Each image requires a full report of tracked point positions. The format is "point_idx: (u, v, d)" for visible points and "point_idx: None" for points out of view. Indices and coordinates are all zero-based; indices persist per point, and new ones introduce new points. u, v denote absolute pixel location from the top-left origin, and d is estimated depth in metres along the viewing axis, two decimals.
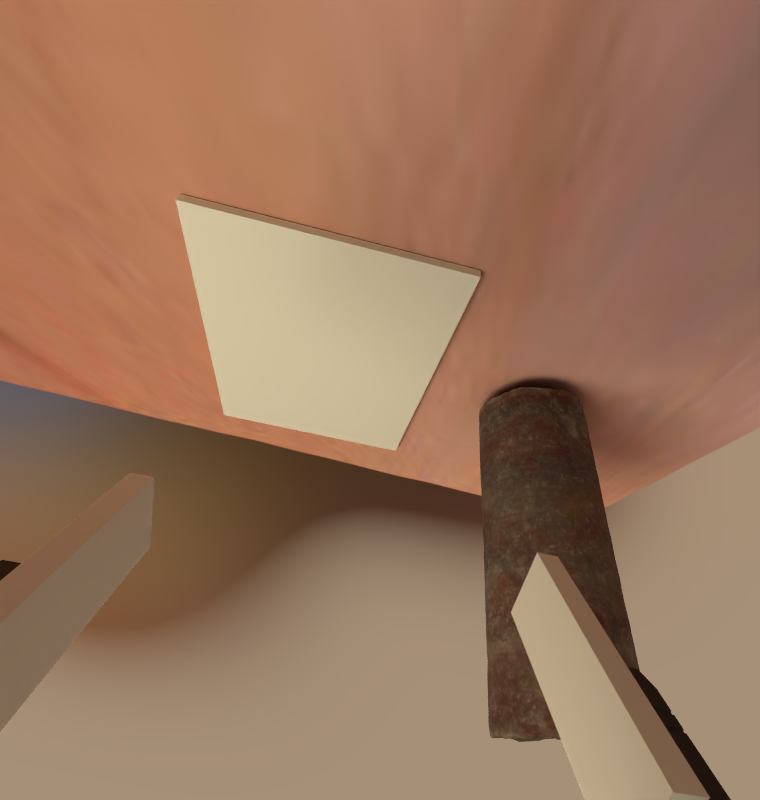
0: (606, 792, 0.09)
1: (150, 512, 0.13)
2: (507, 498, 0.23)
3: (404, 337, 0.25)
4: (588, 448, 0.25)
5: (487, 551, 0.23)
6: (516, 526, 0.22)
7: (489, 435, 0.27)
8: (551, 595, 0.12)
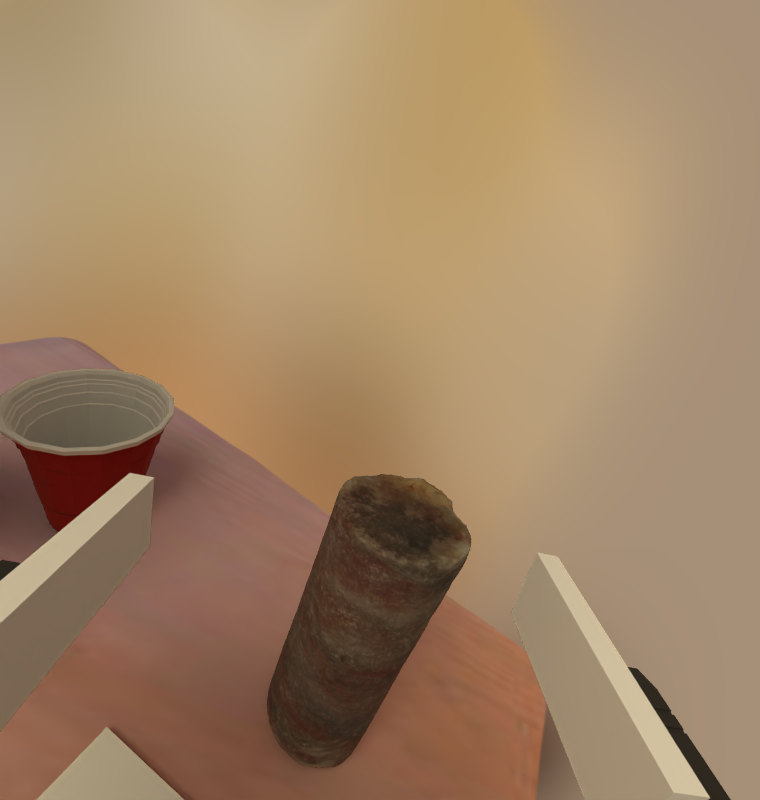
0: (606, 792, 0.09)
1: (150, 512, 0.13)
2: (297, 660, 0.22)
3: None
4: None
5: (336, 664, 0.20)
6: (301, 637, 0.22)
7: (289, 722, 0.24)
8: (551, 595, 0.12)
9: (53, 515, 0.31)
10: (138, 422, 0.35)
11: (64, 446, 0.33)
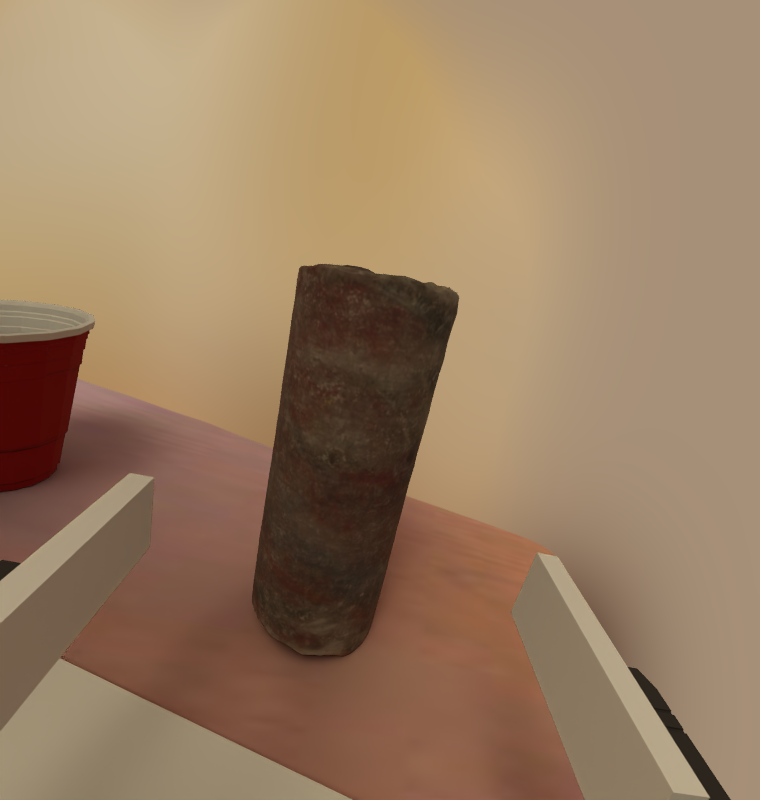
0: (606, 792, 0.09)
1: (150, 512, 0.13)
2: (279, 499, 0.18)
3: (81, 773, 0.14)
4: None
5: (326, 471, 0.17)
6: (280, 464, 0.18)
7: (281, 594, 0.19)
8: (551, 595, 0.12)
9: None
10: None
11: None
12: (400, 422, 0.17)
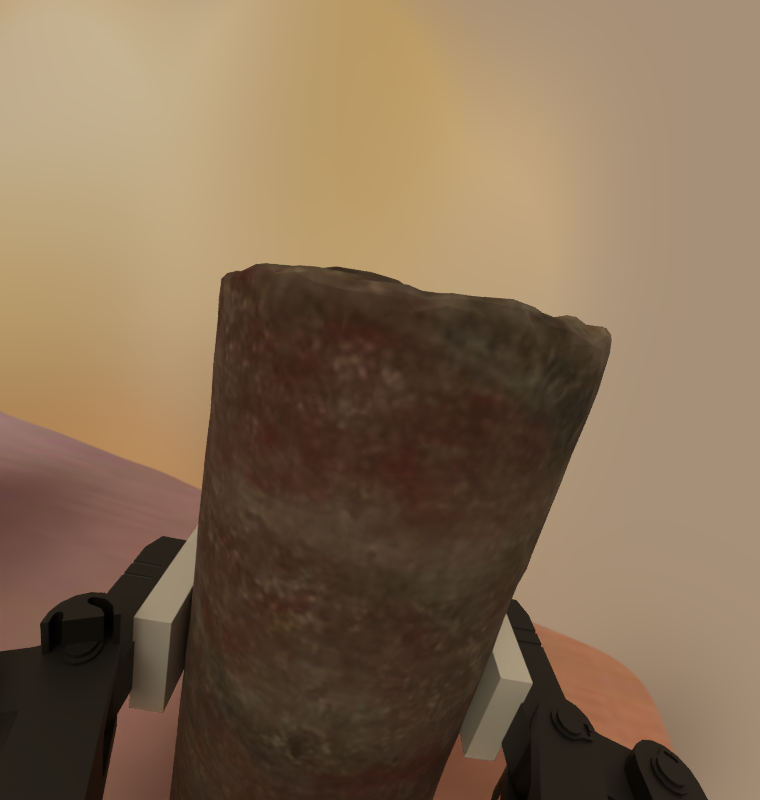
0: None
1: None
2: (188, 777, 0.08)
3: None
4: None
5: (283, 769, 0.07)
6: (189, 707, 0.08)
7: None
8: None
9: None
10: None
11: None
12: (466, 655, 0.07)
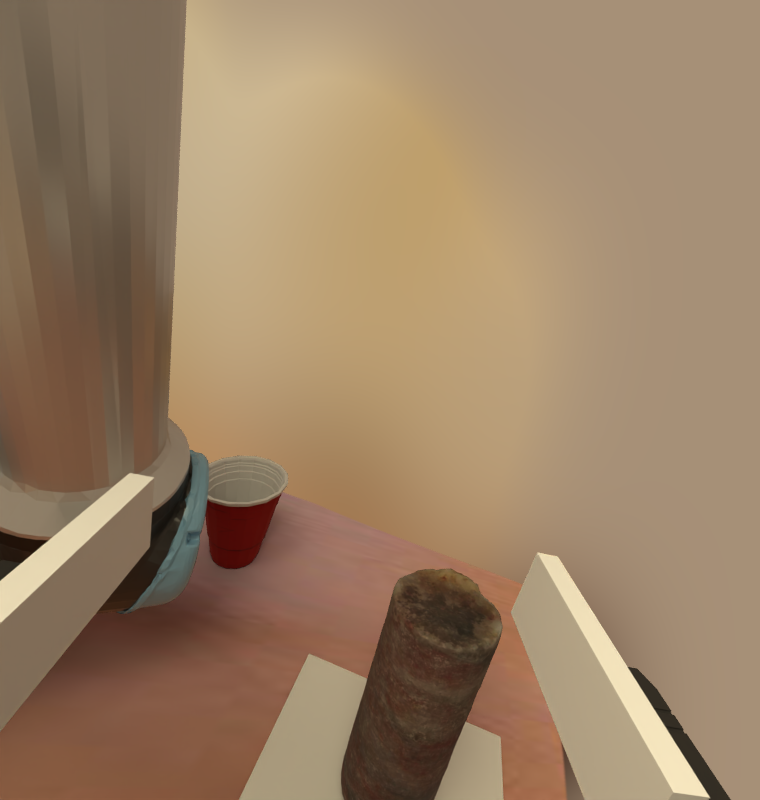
0: (606, 792, 0.09)
1: (150, 512, 0.13)
2: (374, 746, 0.26)
3: (350, 702, 0.37)
4: None
5: (411, 743, 0.25)
6: (375, 724, 0.26)
7: None
8: (551, 595, 0.12)
9: (224, 554, 0.48)
10: (256, 486, 0.53)
11: None
12: (462, 712, 0.24)
